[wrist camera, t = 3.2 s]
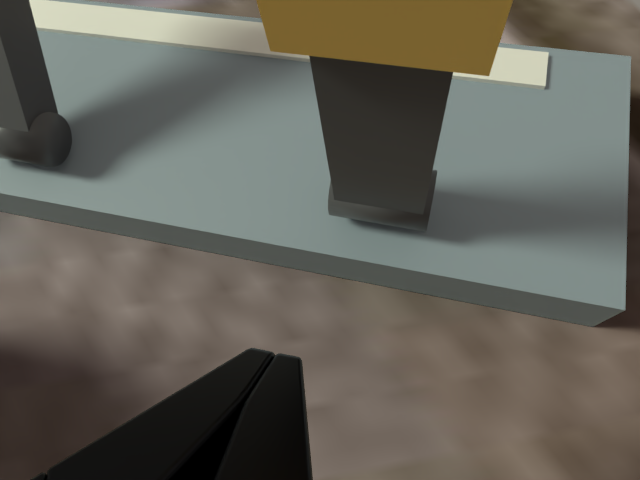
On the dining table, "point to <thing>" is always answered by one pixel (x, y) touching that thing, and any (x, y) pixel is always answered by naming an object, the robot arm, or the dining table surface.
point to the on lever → (27, 93)
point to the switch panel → (312, 166)
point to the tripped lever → (385, 90)
